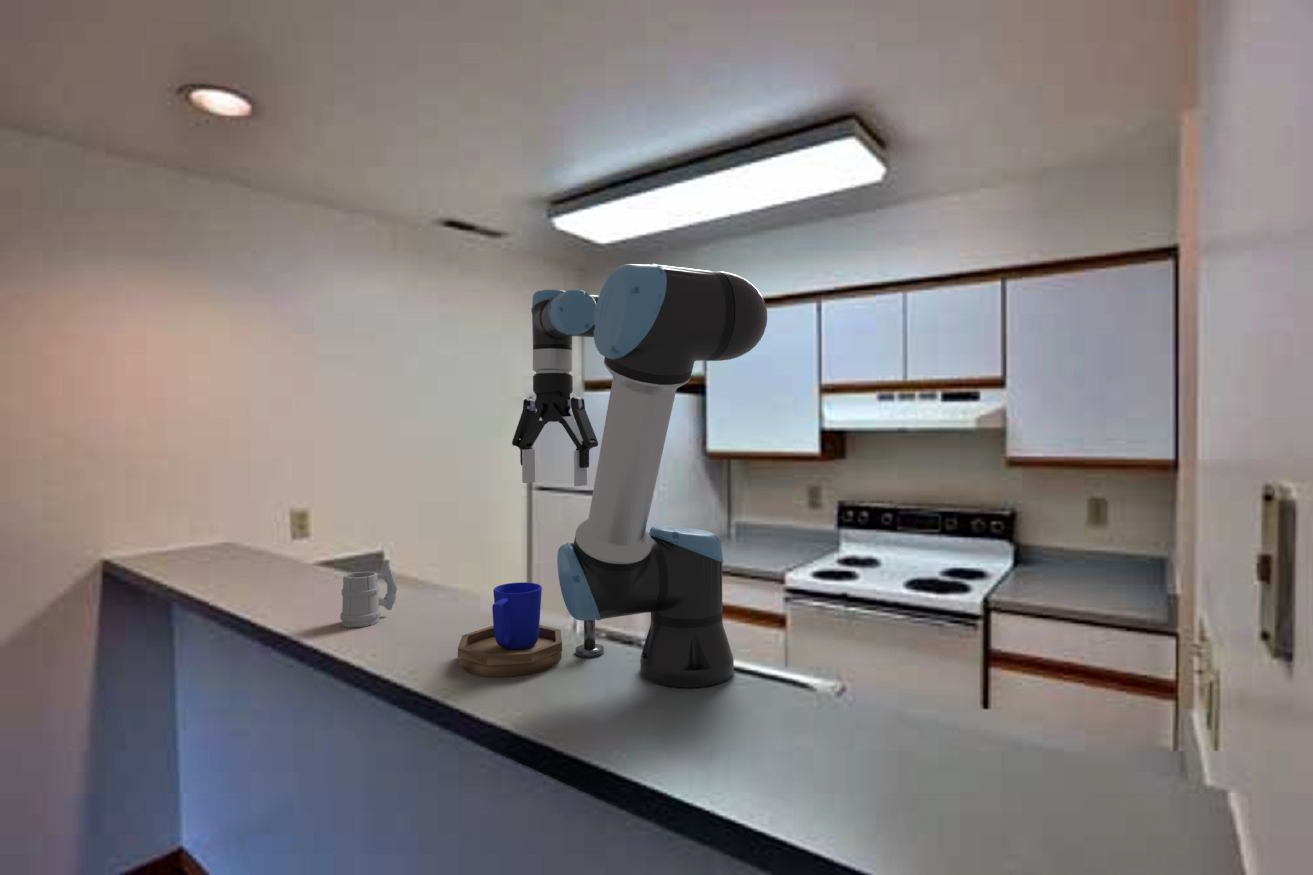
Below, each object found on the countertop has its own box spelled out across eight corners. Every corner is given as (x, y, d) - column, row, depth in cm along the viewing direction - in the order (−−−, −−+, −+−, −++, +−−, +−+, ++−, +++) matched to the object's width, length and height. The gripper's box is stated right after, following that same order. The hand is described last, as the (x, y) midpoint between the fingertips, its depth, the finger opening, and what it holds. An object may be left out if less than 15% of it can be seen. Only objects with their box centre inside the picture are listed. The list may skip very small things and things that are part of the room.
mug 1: (332, 623, 140) (331, 565, 140) (386, 611, 149) (385, 556, 149) (352, 630, 135) (351, 569, 135) (406, 616, 145) (405, 560, 145)
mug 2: (473, 658, 113) (472, 597, 112) (507, 636, 124) (507, 581, 124) (519, 662, 111) (518, 600, 110) (549, 639, 122) (549, 583, 122)
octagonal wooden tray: (581, 654, 120) (581, 634, 120) (508, 684, 106) (508, 662, 106) (514, 637, 130) (513, 619, 130) (438, 663, 116) (438, 642, 116)
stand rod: (609, 651, 122) (609, 603, 122) (591, 659, 118) (590, 610, 118) (588, 646, 125) (587, 600, 125) (569, 653, 121) (569, 606, 120)
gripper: (616, 371, 128) (617, 485, 128) (521, 377, 142) (522, 479, 142) (589, 368, 122) (590, 488, 122) (493, 375, 136) (494, 482, 136)
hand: (553, 484), depth 132 cm, fingers open, 13 cm apart
